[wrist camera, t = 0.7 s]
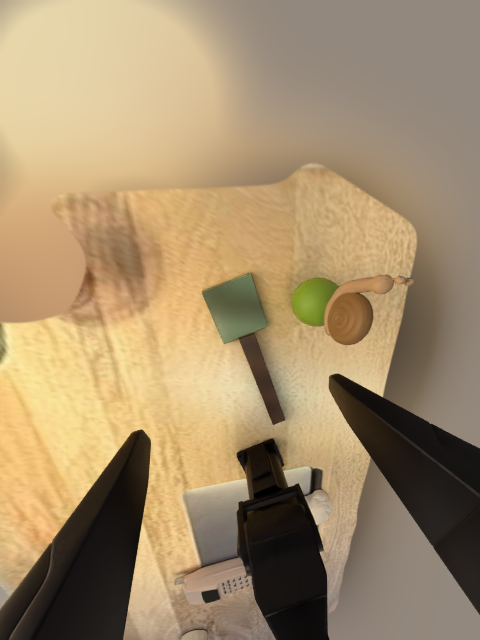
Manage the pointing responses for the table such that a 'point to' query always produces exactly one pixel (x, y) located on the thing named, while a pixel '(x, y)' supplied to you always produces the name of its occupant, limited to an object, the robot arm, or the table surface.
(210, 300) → the spatula
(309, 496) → the white animal figurine
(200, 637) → the white cup
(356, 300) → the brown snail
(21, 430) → the table surface
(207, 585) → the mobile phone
